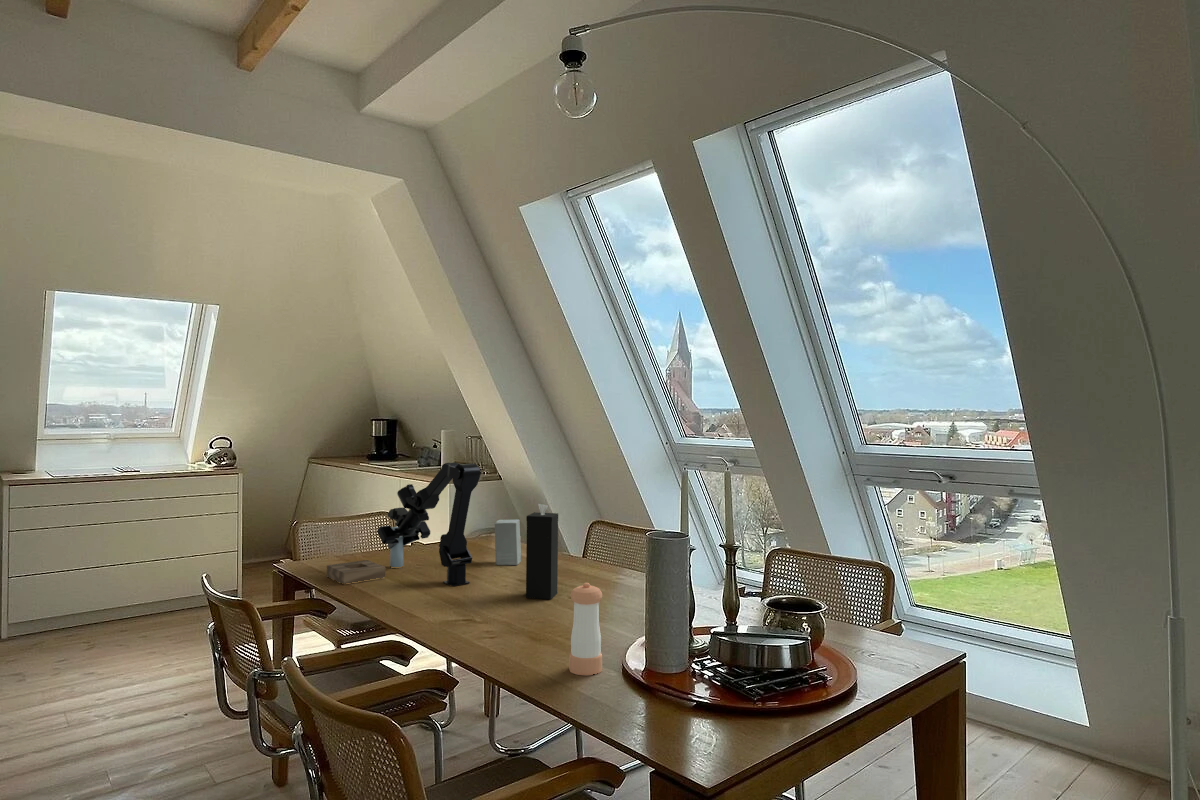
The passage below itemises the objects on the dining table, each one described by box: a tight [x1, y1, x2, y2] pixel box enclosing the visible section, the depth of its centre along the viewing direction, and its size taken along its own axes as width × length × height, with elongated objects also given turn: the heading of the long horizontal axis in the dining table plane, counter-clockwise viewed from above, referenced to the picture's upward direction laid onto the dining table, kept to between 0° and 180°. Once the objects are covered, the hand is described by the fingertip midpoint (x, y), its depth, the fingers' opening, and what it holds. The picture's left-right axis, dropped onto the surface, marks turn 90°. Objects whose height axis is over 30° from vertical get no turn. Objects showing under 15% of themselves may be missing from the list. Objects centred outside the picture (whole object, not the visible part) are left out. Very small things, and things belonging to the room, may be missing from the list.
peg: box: [389, 526, 404, 567], centre depth 273 cm, size 4×4×14 cm
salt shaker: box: [568, 582, 603, 676], centre depth 171 cm, size 7×7×19 cm
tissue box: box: [525, 503, 559, 600], centre depth 236 cm, size 8×8×28 cm
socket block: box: [326, 559, 386, 584], centre depth 256 cm, size 14×14×4 cm
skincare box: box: [494, 519, 522, 566], centre depth 281 cm, size 8×7×16 cm
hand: (394, 546), depth 274 cm, fingers closed on peg, 4 cm apart
